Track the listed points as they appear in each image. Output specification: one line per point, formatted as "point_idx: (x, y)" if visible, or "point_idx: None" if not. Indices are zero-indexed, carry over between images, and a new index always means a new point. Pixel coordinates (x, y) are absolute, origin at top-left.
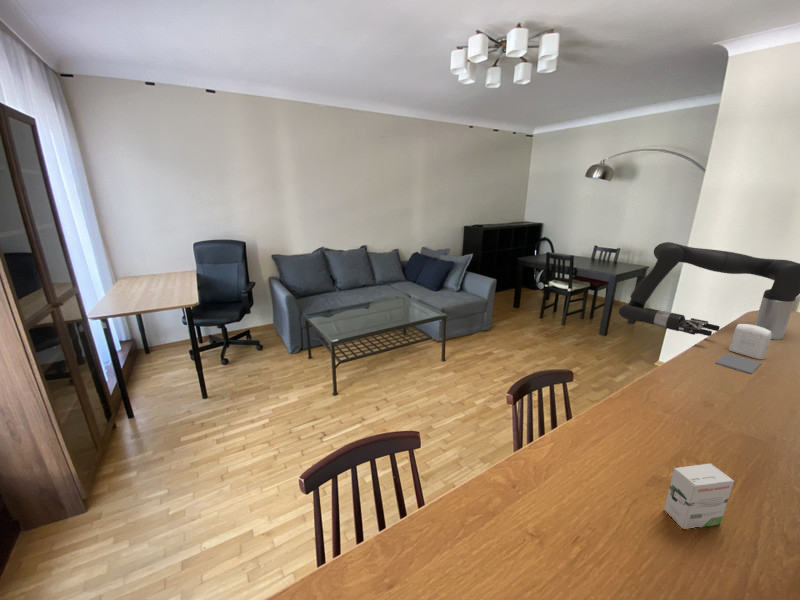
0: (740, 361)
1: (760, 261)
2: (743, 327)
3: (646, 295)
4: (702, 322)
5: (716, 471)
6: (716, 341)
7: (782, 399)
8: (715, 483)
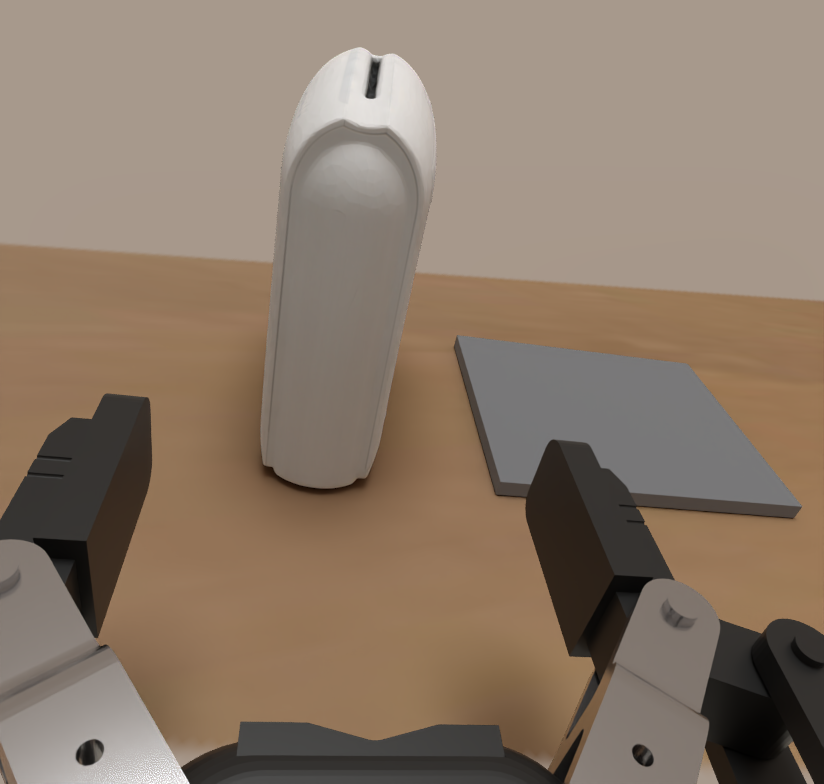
0: (574, 405)
1: None
2: (430, 128)
3: None
4: (17, 667)
5: None
6: None
7: (786, 313)
8: None
